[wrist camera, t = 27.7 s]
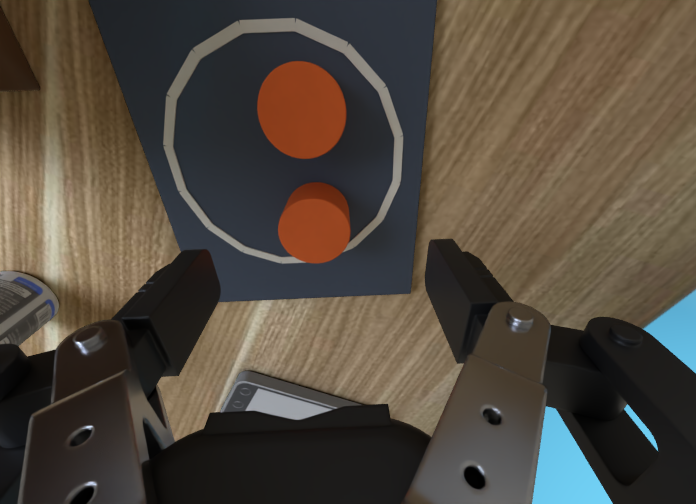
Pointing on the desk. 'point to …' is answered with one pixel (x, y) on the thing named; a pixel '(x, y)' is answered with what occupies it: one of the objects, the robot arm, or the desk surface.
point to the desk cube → (13, 62)
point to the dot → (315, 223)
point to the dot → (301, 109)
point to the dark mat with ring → (254, 147)
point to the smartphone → (278, 398)
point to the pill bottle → (23, 306)
